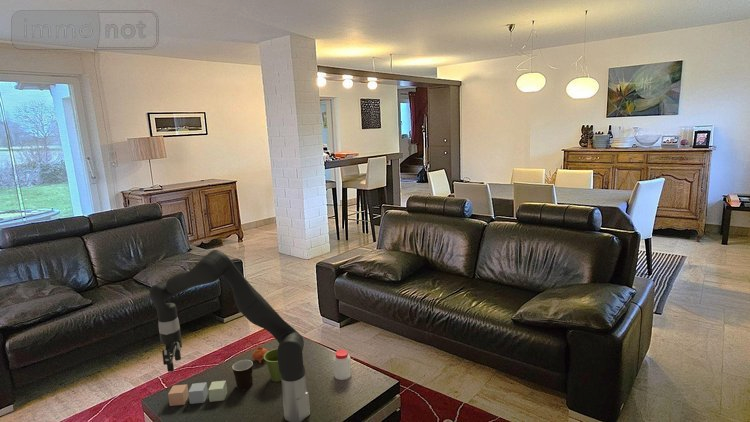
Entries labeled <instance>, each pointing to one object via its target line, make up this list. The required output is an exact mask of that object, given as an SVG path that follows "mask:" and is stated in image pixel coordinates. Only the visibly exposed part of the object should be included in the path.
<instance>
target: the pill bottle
mask: <svg viewBox="0 0 750 422" xmlns="http://www.w3.org/2000/svg"><path fill="white" fill-rule="evenodd" d="M351 361H352V360H351V355H350V354H349V353H348V351H347V350H346V349H339V350H336V351H335V353H334V356H333V360H332V363H333V376H334V378H335V379H336V380H340V381H344V380H348V379H349V378H350V377H351V376H352V363H351Z"/></svg>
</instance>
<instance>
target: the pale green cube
mask: <svg viewBox="0 0 750 422" xmlns="http://www.w3.org/2000/svg"><path fill="white" fill-rule="evenodd" d="M227 387H228V386H227V380H217V381H211V383H210V385H209V388H207V389H208V399H209V402H210V403H212V402H221V401H225V399H226V395H227V394H228V388H227Z"/></svg>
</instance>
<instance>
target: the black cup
mask: <svg viewBox="0 0 750 422" xmlns="http://www.w3.org/2000/svg"><path fill="white" fill-rule="evenodd" d="M231 368H232V373H233V375H234V376H233V377H234V380H235V383H236V387H237V390H238V391H247V390H249V389H251V388H252V387H253V379H254V378H253V375H254V373H253V372H254V370H253V369H254V363H253V361H252V360H250V359H242V360H238V361H236V362H235V363H233V364H232V366H231Z"/></svg>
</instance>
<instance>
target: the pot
mask: <svg viewBox="0 0 750 422" xmlns="http://www.w3.org/2000/svg"><path fill="white" fill-rule="evenodd" d="M268 351H269V350H268V349H266V348H264V347H261V346H259V347H257V348H255V350H254V351H253V352H252V353H251V358H252V359H253V360H255V361H258V362H259V364H261V363H262V360H263V361H264V360H265V359H264V355H265V354H266V353H267V352H268Z"/></svg>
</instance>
